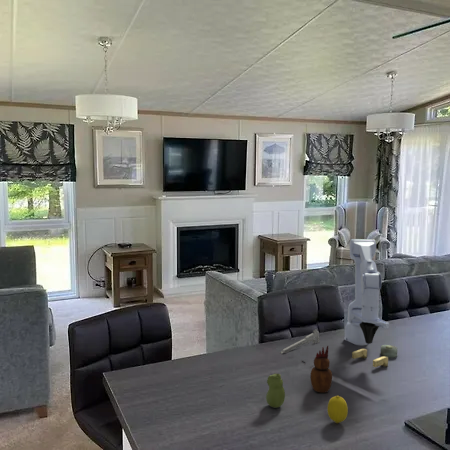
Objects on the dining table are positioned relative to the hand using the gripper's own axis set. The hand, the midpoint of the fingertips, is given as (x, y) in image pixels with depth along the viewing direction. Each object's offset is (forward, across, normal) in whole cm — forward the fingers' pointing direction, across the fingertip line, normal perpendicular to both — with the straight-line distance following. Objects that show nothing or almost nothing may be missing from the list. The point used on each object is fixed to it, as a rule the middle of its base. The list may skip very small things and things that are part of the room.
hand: (368, 342), depth 161 cm
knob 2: (+8, +4, +2) cm, 9 cm away
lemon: (+10, +18, -38) cm, 43 cm away
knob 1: (+8, -5, +2) cm, 10 cm away
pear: (+10, +1, -46) cm, 47 cm away
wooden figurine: (+10, +2, -27) cm, 29 cm away
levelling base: (+9, -1, +9) cm, 13 cm away
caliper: (+10, -28, -6) cm, 30 cm away
